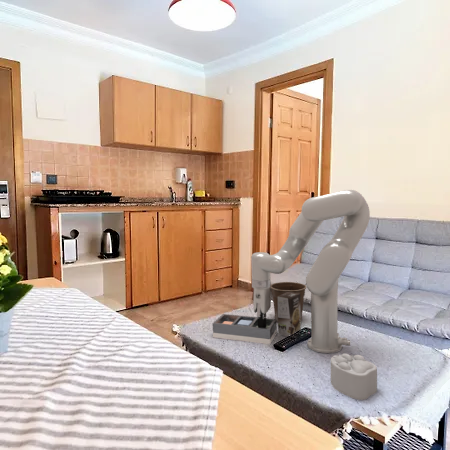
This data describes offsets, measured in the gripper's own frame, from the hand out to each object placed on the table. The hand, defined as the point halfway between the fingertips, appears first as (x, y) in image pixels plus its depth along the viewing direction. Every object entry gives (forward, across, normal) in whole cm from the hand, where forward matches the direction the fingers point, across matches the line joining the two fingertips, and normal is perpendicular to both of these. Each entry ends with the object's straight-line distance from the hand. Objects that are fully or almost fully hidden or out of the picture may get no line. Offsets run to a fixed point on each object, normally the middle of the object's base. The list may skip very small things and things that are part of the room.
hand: (262, 327), depth 143 cm
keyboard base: (+4, 0, +7) cm, 8 cm away
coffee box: (+4, +8, -10) cm, 13 cm away
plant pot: (+4, +22, -7) cm, 23 cm away
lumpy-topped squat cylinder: (+4, -28, -35) cm, 45 cm away
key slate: (+1, 0, +7) cm, 7 cm away
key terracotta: (+3, 0, +15) cm, 15 cm away
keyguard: (+2, 0, +7) cm, 8 cm away
